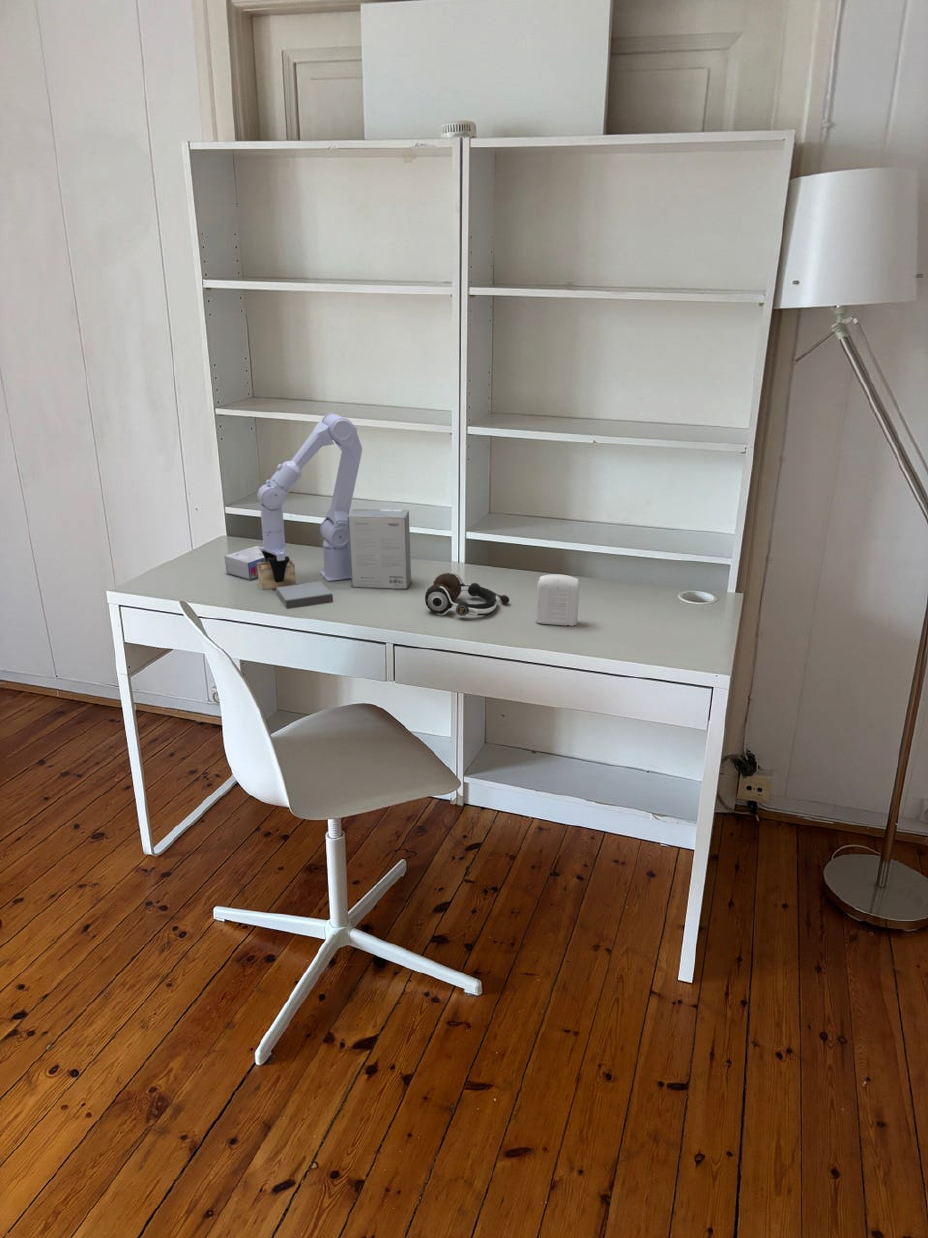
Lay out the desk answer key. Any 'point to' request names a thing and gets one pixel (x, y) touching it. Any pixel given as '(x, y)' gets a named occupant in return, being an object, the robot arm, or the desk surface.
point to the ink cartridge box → (244, 563)
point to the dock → (304, 594)
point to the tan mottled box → (267, 577)
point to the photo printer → (557, 600)
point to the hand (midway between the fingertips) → (276, 578)
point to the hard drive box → (379, 548)
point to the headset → (450, 588)
